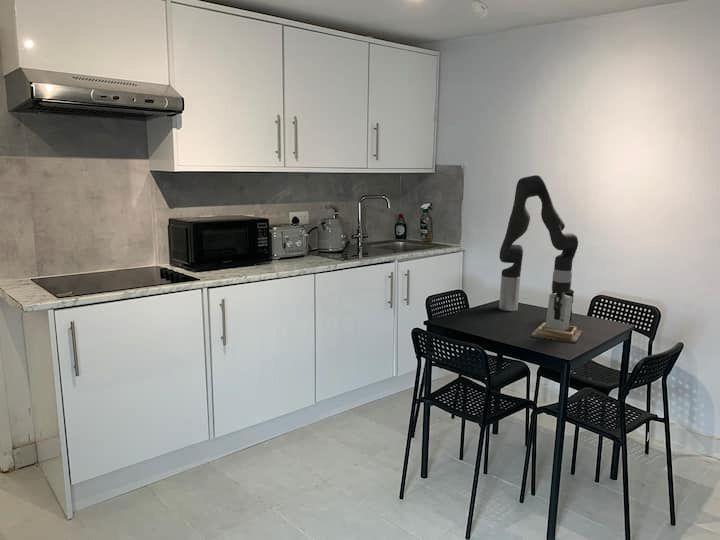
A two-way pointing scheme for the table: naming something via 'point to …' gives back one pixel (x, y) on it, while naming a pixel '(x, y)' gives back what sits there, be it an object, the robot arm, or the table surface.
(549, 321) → the skincare box
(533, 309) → the table surface
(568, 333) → the plate
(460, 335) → the table surface
